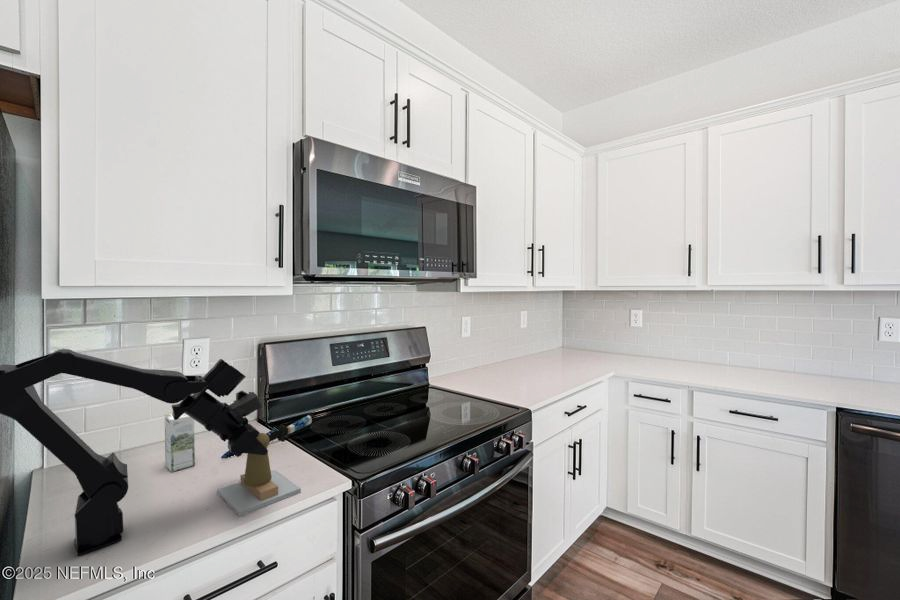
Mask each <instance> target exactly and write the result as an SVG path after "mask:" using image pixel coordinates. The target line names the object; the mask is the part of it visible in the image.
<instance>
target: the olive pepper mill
mask: <svg viewBox="0 0 900 600" xmlns="http://www.w3.org/2000/svg"><path fill="white" fill-rule="evenodd" d="M257 439H258V440H259V441H260V442H261V443H262V445H263V446H264V447H265V448H266V449H267V450H268V446H269V445H270V442H269V440H270V439H269V436H268V435H267V434H266V433H265V432H260V433H259V435H258V437H257ZM245 462H246V463H245V469H244V471H245V472H244V474H245V477H244V484H245V485H246V486H259V485H263V484H265V483H267V482H269V481H270V480H271V478H272V477H271V471H272V470H271V466H270V459H269V452H268V453H267V454H266V455H258V454H248V453H247V455H246V461H245Z"/></svg>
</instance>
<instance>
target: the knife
mask: <svg viewBox="0 0 900 600" xmlns="http://www.w3.org/2000/svg"><path fill="white" fill-rule="evenodd" d="M314 419H315V416H314V413H309V414H307V416H304V417H302V418H301V419H299V420H296V421H295V422H293V423H291V424H290V425H288V426H286V425H284V424H279V426H278V430H276V429H275V427H273V428H272V429H271V430H269V431H268V432H266V433H265V434H267V435H268V436H269V439H270V440H269V443H270V442H273V441H274V440H278V441H281V442H284V441H285V438H286V437H287V436H288V435H290V434H292V433H294V432H296V431H298V430H300V429H303V428H304V427H306V426H307V427H308V426H309V425H311V424H312V422H313V420H314ZM231 456H233V457H235V456H234V454H232V453H231V452H230V450H229V449H228V450H227V451H226V452H225V453H224V454H222V456H220V459H221V460H222V459H224V460H225V459H229V458H232V457H231ZM228 457H229V458H228Z"/></svg>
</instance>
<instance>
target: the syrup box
mask: <svg viewBox="0 0 900 600" xmlns="http://www.w3.org/2000/svg"><path fill="white" fill-rule="evenodd" d="M172 414H173V413H167V414H165V415H164V441H165V442H164V446H165V447H164V449H165V451H164V452H165V467H166V468H167V469H168V470H169V471H170V473H174V472H177V471H181V470H184V468H185V469H187V468H190V467H191V466H192V467H194V466H195V465H196V457H195V456H196V455H195V454H196V451H195V450H196V448H195V447H196V446H195V420H194V419H193V418H191V417H190V416H188V415H187V414H185V413H183V414H182V415H181V416H180V417H179V418H178V419H177V420H174V418H173V415H172Z"/></svg>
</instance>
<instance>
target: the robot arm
mask: <svg viewBox="0 0 900 600" xmlns="http://www.w3.org/2000/svg"><path fill="white" fill-rule="evenodd" d="M60 374H66V375H70V376H74V377H79V378H83V379H89V380H93V381H97V382H101V383H106V384H111V385H115V386H116V385H117V386H120V387H125V388H129V389H133V390H136V391H138V392H141V393H143V394H144V395H147V396H149V397H150V398H153V399H156V400H159V401H161V402H164V403H165V404H166V403H167V404H172V405H171V409H172V413H171V414H172V415H173V418H174V420H177V419H178V418H179V417H180V416H181V415H182V414H183V413H185V414H187V415H188V416H190V417H191V418H193V419H194V421H195V422H197V423H199V424H200V425H201V426H203V427H204V429H205V430H206V431H208V432H212V433H213V434H215V435H216V436H218V437H219V439H220V440H221V441H223V442H226V441H227V449H228V451H229V450H230V452H231V453H232V454H234V455H235V456H234V457H237V458H239V457H241V456H242V455H243V454H247V455H248V454H258V455H266V454H267V453H268V454H269V449H268V448H267V449H266V448H265V447H264V446H263V445H262V443H261V442H260V441H259V440H258V439H257V437H258V435H259V433H261V432H260V431H259V430H258V429H257V427H255V426H253V425H252V424H251V423H249V419H248V418H247V416H249V415H250V414H252V413H254V412H255V411H258V410H260V409H262V408H263V406H264V405H263V404H262V402H261V400H260V398H259V396H258V394H256V393H255V392H254V391H248V393H247V392H245V391H244V390H240V391H238V392H236V393H235V400H233V402H232V403H230V404H228V403H227V402H221V401H220V400H218V399H217V398H221V397H225V396H227V397H228V396H229V395H230V394H231V393H232V392H233V391H234V390H235V389H236V388H237V386H239V385H240V384H241V383H242V382H243V381H244V380H245V378H246V376H245V374H243V373H242V372H241V371H239V370H238V369H237V368H236V367H234V366H233V365H230V364H229V363H227V361H225V360H224V359H222V358H220V359H219V360H217V362H215V364H214V366H213V367H212V368H210V370H209V371H207V373H206V374H204V375H186V374H184V373H183V372H180V371H176V370H170V369H169V370H168V369H167V370H166V369H147V368H140V367H135V366H132V365H128V364H123V363H119V362H116V361H112V360H108V359H103V358H101V357H100V358H99V357H95V356H92V355H87V354H83V353H79V352H76V351H74V350H72V349H68V348H62V349H61V348H60V349H57V350H55V351H53V352H51V353H48V354H45V355H42V356H39V357H36V358H31V359H29V360H26V361H23V362H20V363H17V364H15V365H14V364H0V415H3V416H6V417H8V418H10V419H12V420H14V421H15V422H17V423H18V424H19V425H20V426H21V427H22V428H23V429H25V430H26V431H27V432H28V434H30V435H31V436H32V437H34V439H35V440H37V442H39V443H40V444H41V445H43V447H44V448H46V449H47V450H48V451H49V453H51V454H52V455H53V456H54V457H55V458H57V459H58V460H59V461H60V462H61V463H62V464H63V465H65V466H66V468H67V469H69V471H71V472H72V473H73V474H74V475H75V477H76V479H77V480H78V483H79V485H80V487H81V489H82V492H81V493H80V494H79V495H78V496H77V501H76V506H75V512H74V531H75V532H74V534H75V535H74V536H75V538H74V539H73V543H74V544H73V545H74V547H75V552H76V555H77V556H82V555H85V554H88V553H90V552H93V551H95V550H99V549H102V548H105V547H107V546H109V545H112V544H114V543H118V542H120V541H122V539H123V537H122V534H123V533H124V514H123V511H122V508H120V507H119V502H121V501H122V499H124V498H125V497H126V495H127V493H128V491H129V474H128V464H127V463H125V462H124V463H123V462H122V461H120V459H119V458H118V456H117V455H116V454H115V452H112V453H110V454H109V455H108V456H107V457H106V456H102V455H101V454H98V453H96V452H95V450H93V449H92V448H91V446H89V445H88V444H87V443H86V442H85V441H84V440H83V439H81V437H80V436H78V435H77V433H75V431H73V430H72V429H71V428H70V426H68V425H67V424H66V423H65V422H64V421H63V420H62V419H61V418H59V417H58V416H57V415H56V413H54V412H53V411H52V410H51V409H50V408H49V407H48V406H47V405H46V404H45V403H44V402H43V401H42V399H41V398H40V396H39V394H38V391H37V389H36V386H35V385H37V384H39V383H41V382H43V381H45V380H48V379H50V378H52V377H55V376H57V375H60ZM207 390H209V391H210V392H211V393H212V394H214V395H215V396H217V398H216V397H214V396H213V395H212V394H210V393H208V392H207Z"/></svg>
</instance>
